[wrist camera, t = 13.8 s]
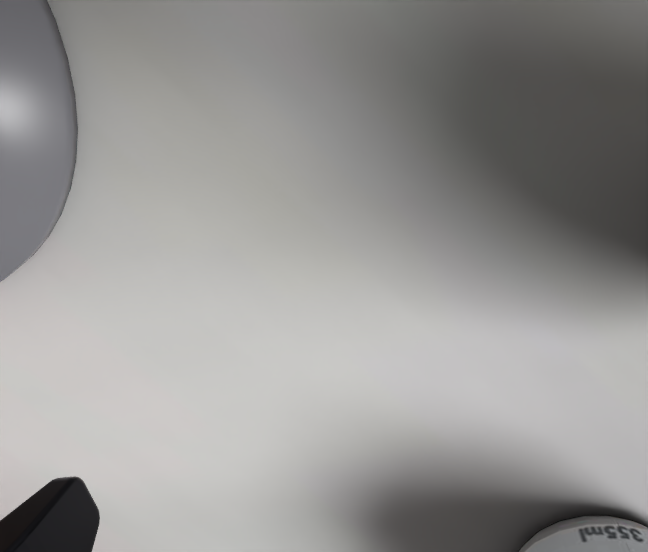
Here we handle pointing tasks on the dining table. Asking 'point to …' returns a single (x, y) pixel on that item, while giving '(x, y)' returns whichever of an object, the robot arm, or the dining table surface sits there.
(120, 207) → the dining table surface
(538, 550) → the decorated jar
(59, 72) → the charcoal plate
